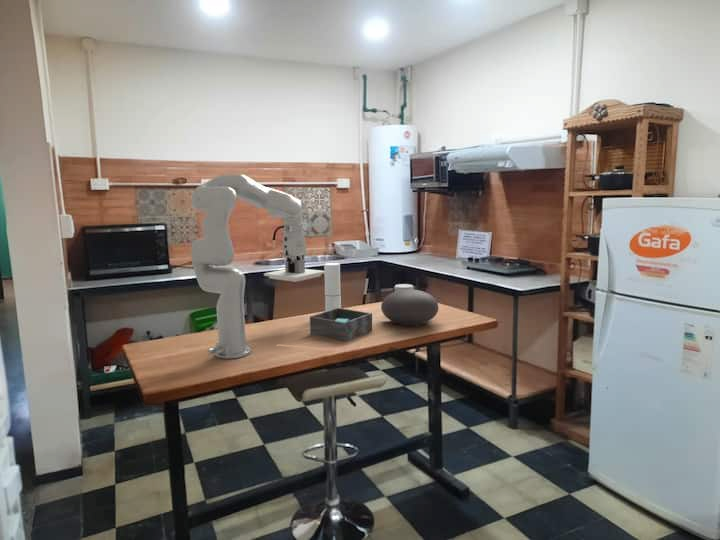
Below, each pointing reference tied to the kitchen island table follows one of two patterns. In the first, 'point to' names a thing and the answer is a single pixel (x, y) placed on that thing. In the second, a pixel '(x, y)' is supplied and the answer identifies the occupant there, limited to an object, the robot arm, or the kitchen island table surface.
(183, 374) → the kitchen island table surface
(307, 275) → the lid
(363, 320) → the box
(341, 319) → the teal block
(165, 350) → the kitchen island table surface
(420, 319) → the squat round vase
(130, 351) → the kitchen island table surface
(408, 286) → the coffee cup
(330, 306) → the tall white block
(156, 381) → the kitchen island table surface
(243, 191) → the robot arm
